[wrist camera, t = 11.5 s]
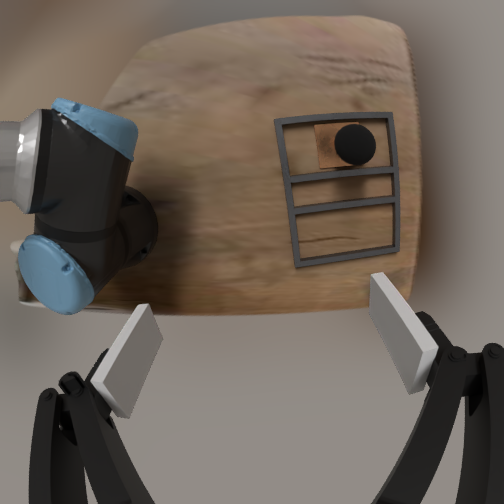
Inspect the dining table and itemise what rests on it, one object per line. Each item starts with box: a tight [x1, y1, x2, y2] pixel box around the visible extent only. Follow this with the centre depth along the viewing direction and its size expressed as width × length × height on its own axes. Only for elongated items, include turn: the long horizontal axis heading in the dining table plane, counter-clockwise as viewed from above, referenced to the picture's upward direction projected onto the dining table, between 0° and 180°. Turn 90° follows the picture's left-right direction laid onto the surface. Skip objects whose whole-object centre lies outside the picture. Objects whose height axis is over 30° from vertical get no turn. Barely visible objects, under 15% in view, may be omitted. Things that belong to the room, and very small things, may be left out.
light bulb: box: [334, 124, 376, 165], centre depth 36 cm, size 6×6×10 cm
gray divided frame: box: [274, 112, 400, 268], centre depth 43 cm, size 20×25×1 cm
